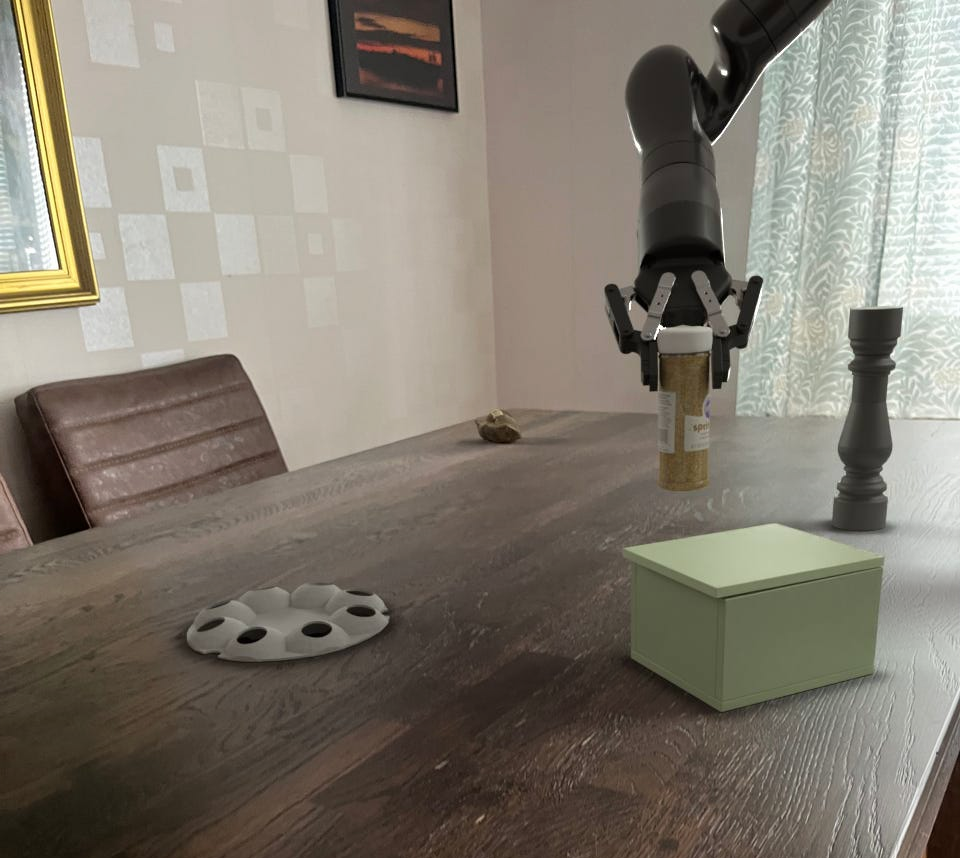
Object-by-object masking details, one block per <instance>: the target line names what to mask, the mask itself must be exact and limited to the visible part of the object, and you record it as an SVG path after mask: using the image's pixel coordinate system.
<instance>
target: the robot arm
mask: <svg viewBox="0 0 960 858" xmlns="http://www.w3.org/2000/svg"><path fill="white" fill-rule="evenodd" d="M832 2H834V0H724V1H722V3H721V4H720V5H719V6H718V7H717V9H716V10H715V11H714V13H713V14H712V15H711V17H710V20H709V32H710V33H709V34H710V37H711V40H712V44H713V47H714V60H713V62H712V64H711V67H710V69H709V71H708V72H707V74H706V76H705V74H704V73H703V72H702V70H701V68H700V67H699V65H698V63H697V62H696V61H695V59H694V58H693V56H692V55H691V54H690V52H688V51H687V50H686V49H684V48H683V47H681V46H680V45H676V44H670V43H666V44H661V45H660V44H659V45H657V46H654V47H652V48H650V49H649V50H647V51H646V52H645V53H643V54H642V55H641V57H640V58H639V59H638V60H637V61H635V64H634V65H633V67H632V68H631V71H630V73H629V75H628V78H627V80H626V84H625V89H624V111H625V116H626V121H627V125H628V130H629V132H630V136H631V137H630V138H631V140H632V144H633V147H634V150H635V154H636V156H637V161H638V164H639V200H638V201H639V202H638V208H637V219H636V220H637V228H636V239H637V268H638V269H637V271H638V272H637V273H638V274H637V276H636V278H635V279H634V281H633V283H632V285H629V286H625V287H622V288H621V287H620V288H619V286H618V285H617V284H616V283H608V284H606V285H605V286H604V289H603V290H604V292H603V293H604V311H605V314H606V316H607V320H608V322H609V324H610V327H611V330H612V334H613V337H614V339H615V341H616V345H617V347H618V350H619V352H620V353H621V354H623V355H629V354H631V353H635V354H637V355H638V356H639V358H640V383H641V384H642V386H643V387H646V386H648V390H649V391H648V392H649V393H653V392H654V393H655V392H658V390H659V357H658V356H659V354H658V347H657V333H658V331H659V330H661V329H666V328H672V327H682V326H685V327H686V326H702V327H710V328H711V329H712V334H713V341H712V350H710V353H711V355H710V372H711V388H712V389H711V390H721V389H722V386H723V385H722V384H723V383H727V382H728V381H729V378H730V373H731V365H732V364H731V352H730V351H731V350H732V349H734V348H736V349H739V350H744V349H746V348H748V345H749V342H750V340H751V336H752V333H753V328H754V325H755V321H756V318H757V314H758V310H759V307H760V303H761V299H762V291H763V286H764V278H763V277H762V276H760V275H752V276H751V277H749V279H748V281H746V280H745V281H744V280H737V279H733V277H732V275H731V273H730V272H729V271H728V270H727V267H726V259H725V258H726V257H725V244H724V242H725V241H724V229H723V228H724V227H723V225H724V224H723V212H722V211H723V210H722V201H721V196H720V194H719V193H720V192H719V190H718V189H719V188H718V177H717V161H716V154H715V151H714V147H713V145H714V144H715V143H716V142H717V141H718V139H720V137H721V136H722V134H724V132H725V130H726V128H727V127H728V126H729V125H730V123H731V121H732V120H733V118H734V116H735V115H736V114H737V112H738V110H739V109H740V107H741V106H742V105H743V104H744V102H745V100H746V99H747V97H748V96H749V94H750V93H751V91H752V90H753V88H754V86H755V85H756V83H757V82H758V80H759V79H760V77H761V76H762V75H763V73H764V71H765V70H766V69H767V68H768V67H769V66H770V65H771V64H772V63H773V62H774V61H775V60H776V59H777V58H778V57H780V55H781V54H782V53H784V52H785V51H786V50H787V49H788V48H789V47H790V46H791V45H792V44H793V43H794V42H795V41H796V40H798V38H800V36H801V35H803V33H804V32H806V30H808V28H809V27H810V26H811V25H812V24H814V22H815V21H816V20H817V19H818V18H819V17H820V16H821V15H822V14H823V13H824V12H825V11H826V10H827V9H828V7H829V6H830V5H831V4H832ZM730 296H731V297H733V298H734V303H735V306H737V307H738V310H739V314H738V316H737V321H736V323H734V324H732V325H728V323H727V321H726V319H725V317H724V314H723V312H722V305H723V304H724V303H725V302H726V300H727V299H728V298H729V297H730ZM633 302H636V303H637V305H639V307H640V308H642V310H644V312H645V313H646V314H647V316H646V320H645V322H644V325H643V327H642V330H637V329H634V326H633V324H632V320H631V318H630V315H629V312H630V311H631V304H632V303H633Z"/></svg>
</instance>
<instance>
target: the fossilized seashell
mask: <svg viewBox="0 0 960 858" xmlns="http://www.w3.org/2000/svg"><path fill="white" fill-rule="evenodd" d="M474 423H475V424H476V428H477V431H478V434H479V435H478V436H479V437H480V438H481V439H483V440H486V441H490V442H491V441H493V442H496V443H511V442H515V441H517V440H521V439H522V438H523V437H522V433H521V430H520V427H519V423H518V420H517V419H516V418H515V417H514V416H512V414H511V413H509V412H508V411H506V410H505V409H501V408H496V409H494V410H492V411H491V412H490V413H489V414H488V415H487V416H485V418H484V419H483V420H480V419H479V420H478V419H475V420H474Z"/></svg>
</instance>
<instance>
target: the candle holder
mask: <svg viewBox="0 0 960 858" xmlns="http://www.w3.org/2000/svg"><path fill="white" fill-rule="evenodd" d="M903 313H904V306H902V305H901V306H900V305H878V306H860V307H851V308H849V317H848V330H847V338H848V339H849V347H850V348H851V350H852V354H853V355H854V358H853V359H852V360H851V361H849V362H848V363H847V370H848V371H850V372H851V375H852V376H853V377H852V385H851V386H852V387H851V390H852V391H851V400H850V404H849V407H848V411H847V414H846V417H845V421H844V424H843V427H842V430H841V433H840V436H839V440H838V442H837V454H838V455H837V456H838V457H839V459H840V462H841V463H842V464H843V465H844V466H843V470H844V471H845V473H844V474H843V475H842V476H841V478H840V480H839V481H838V482H837V483H836V490H837V491H838V493H836V494H834V495H833V502H832V517H831V519H832V520H831V525H832V527H835V528H837V529H841V530H846V531H854V532H855V531H856V532H857V531H859V532H867V531H877V530H882V529H884V528H886V525H887V514H888V504H889V497H888V495H886V494H884V492H886V491H887V489H888V485H887V482H886V481H885V480H884V477H883V476H882V475H881V472H882V471H884V465H885V464H886V463H887V461H888V460H889V459H890V457H891V455H892V453H893V438H892V431H891V425H890V424H891V423H890V418H889V417H890V416H889V411H888V404H887V397H888V396H887V395H888V385H889V376H890V375H891V372H892V371H894V370H895V369H896V366H897V363H896V361H895V360H894V359H893V358H891V354H893V352H894V349H895V348H896V346H897V345H898V340H899V338H901V336H902V326H903V325H902V324H903Z"/></svg>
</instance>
